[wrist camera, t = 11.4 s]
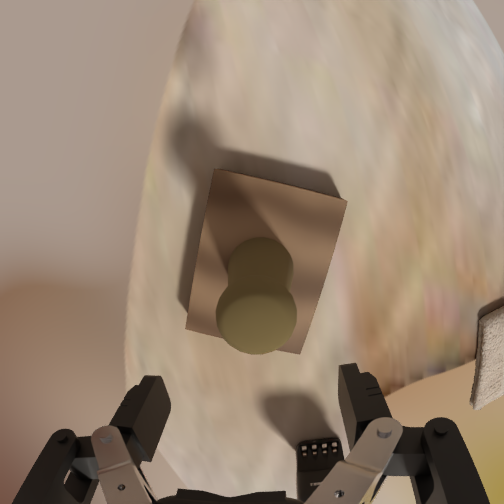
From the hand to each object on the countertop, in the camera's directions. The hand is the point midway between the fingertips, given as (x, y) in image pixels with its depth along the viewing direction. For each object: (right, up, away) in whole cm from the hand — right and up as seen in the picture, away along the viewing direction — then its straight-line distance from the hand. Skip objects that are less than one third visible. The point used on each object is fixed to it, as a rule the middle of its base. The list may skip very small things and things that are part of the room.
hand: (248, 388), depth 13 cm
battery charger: (+10, -21, +25) cm, 34 cm away
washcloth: (+37, -9, +21) cm, 43 cm away
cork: (+1, +4, +16) cm, 17 cm away
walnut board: (+1, +5, +18) cm, 19 cm away
